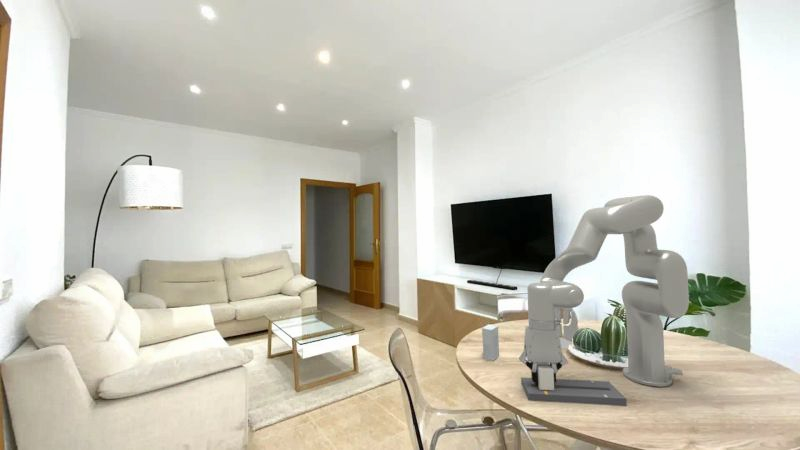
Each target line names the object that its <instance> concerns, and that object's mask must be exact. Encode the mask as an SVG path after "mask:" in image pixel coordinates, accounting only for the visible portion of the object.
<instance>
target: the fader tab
mask: <svg viewBox="0 0 800 450" xmlns="http://www.w3.org/2000/svg"><path fill="white" fill-rule="evenodd" d="M536 370H537V372H538V387H539V389H540V390H554V371H553V369H552V367H551V365H550V363H537V369H536Z"/></svg>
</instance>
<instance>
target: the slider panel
mask: <svg viewBox="0 0 800 450" xmlns="http://www.w3.org/2000/svg"><path fill="white" fill-rule="evenodd" d="M520 379H521V381H520V382H521V383H520V384H521V386H522V388H523V391H524V393H525V395H526V397H527V399H528V401H534V402H551V403H553V402H555V403H571V404H572V403H573V404H589V405H602V406H603V405H607V406H608V405H609V406H623V407H627V405H628V404H627V403H628V401H627V399H628V398H627V397H625V396H624V395H623V394H622V392H621V391H619V390H618V389H617V388H616V387H615V386H614V385H613V384H612V383H611V382H610V381H608V380H592V379H591V380H588V379H569V378H568V379H567V378H566V379H565V378H556V382H555V387H554V390H540V389H539V387H538V386H536V385H535V383H534V381H532V377H526V376H525V377H523V376H521V377H520Z"/></svg>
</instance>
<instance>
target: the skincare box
mask: <svg viewBox="0 0 800 450" xmlns="http://www.w3.org/2000/svg"><path fill="white" fill-rule="evenodd" d="M481 329H482V330H481V331H482V333H481V334H482V355H483V356H482V357H483V359H484V360H487V361H488V360H489V361H491V362H494V361H495V360H496V359H498V357H499V356H500V345H499V326H498V325H495V324H489V323H488V324H485V326H483V327H482V328H481Z"/></svg>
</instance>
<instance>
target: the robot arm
mask: <svg viewBox="0 0 800 450" xmlns="http://www.w3.org/2000/svg"><path fill="white" fill-rule="evenodd" d="M664 209H665V208H664V204H663V202H662V201H661V199H660V198H659V197H656V196H654V195H650V194H649V195H648V194H647V195H637V196H627V197H619V198H614V199H610V200H608V201H607V202H605V203H604V206H603V207H601V206H600V207H593V208H590V209H588V210H586V211H585V212H584V213H583V214H582V216H581V219H580V220H579V222H578V225H577V226H576V229H575V231H574V233H573V235H572V237H571V240H570V241H569V244H568V246H567V247H566V248H565V249H564V250H563V251H562V252H561V253H559V254H558V255H557V256H556V257H555V258H554V259H553V260H552V261H551V262H550V263H549V264H548V265H547V267H546V268H545V270H544V272H543V274H542V276H541V278H540V281H539V282H532V283H530V284H528V286H527V313H528V314H527V315H528V317H527V318H528V325H526V326H525V330H524V338H523V339H524V340H523V351H522V352H521V355H520V356H519V358H518V360H519V361H520V362H521V363H522V364H523V365H525V366H527V368H528V369H529V370H530V371H531V373H530V374H531V378H532V381H534V383H535V385H536V386H538V372H537V370H536V369H537V363H549V364H550V365H551V367H552V369H553V371H554V387H555V382H556V379H557V373H558V372H559V370H561V368H562V367H564V366H565V365H567V364H568V363H569V360H568V359H567V357H565V355H564V354H563V351H562V350H563V349H561V342H560V337H559V332H558V329H557V328H556V326H557V325H560V324H561V323H560V320H556V318H555V307H558V308H559V307H562V308H573V309H574V308H577V307H579V306H581V305H582V303H583V301H584V299H585V293H584V291H583V289H582V288H580V286H578V285H576V284H574V283H571V282H567V281H564V279H565V278H566V276H568V274H569V273H570V272H572V271H573V270H574V269H577V268H579V267H581V266H584V265H587V264H590V263H591V262H593V261H595V260H596V259H597V257H598V256H599V253H600V251H601V249H602V247H603V245H604V243H605V240H606V238H607V236H608V235H622V236H623V241H624V242H623V244H624V259H625V260H624V261H625V268H626V271H627V272H628V273H629V274H630V275H632V276H634V277H637V278H638V277H639V278H643V279H649V280H656V281H657V282H651V281H644V280H632V281H629V282H626V283H625V284H624V286H623V287H622V289H621V299H622V302H623V306H624V310H625V319H626V342H627V343H626V344H627V345H626V346H627V366H628V367H627V366H625V367H624V368H622V373H623V375H624V376H625V377H626V378H627V379H629V380H631V381H633V382H635V383H638V384H641V385H645V386H649V387H659V388H660V387H661V388H664V387H668V386H671V385H672V381H673V380H672V378H671V376H672V375H673V376H683V373H684V372H683V370H682V369H681V368H673V366H671V365H666V364H665V342H664V341H665V340H664V325H663V322H662V319H661V317H660V316H662V317H666V318H671V319H677V318H678V319H679V318H682V317H683V316H684V315H686V313H688V310H689V303H690V298H689V296H690V295H689V291H690V290H689V276H688V266H687V262H686V261H685V259H684V257H682V255H680V254H679V252H676V251H674V250H670V249H669V250H668V249H659V248H658V244H657V236H656V231H655V229H654V227H653V226H652V224H653V223H656V222H657V221H658V220H659V219H660V218H661V217H662V216H663V214H664ZM562 308H561V309H562Z"/></svg>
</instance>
